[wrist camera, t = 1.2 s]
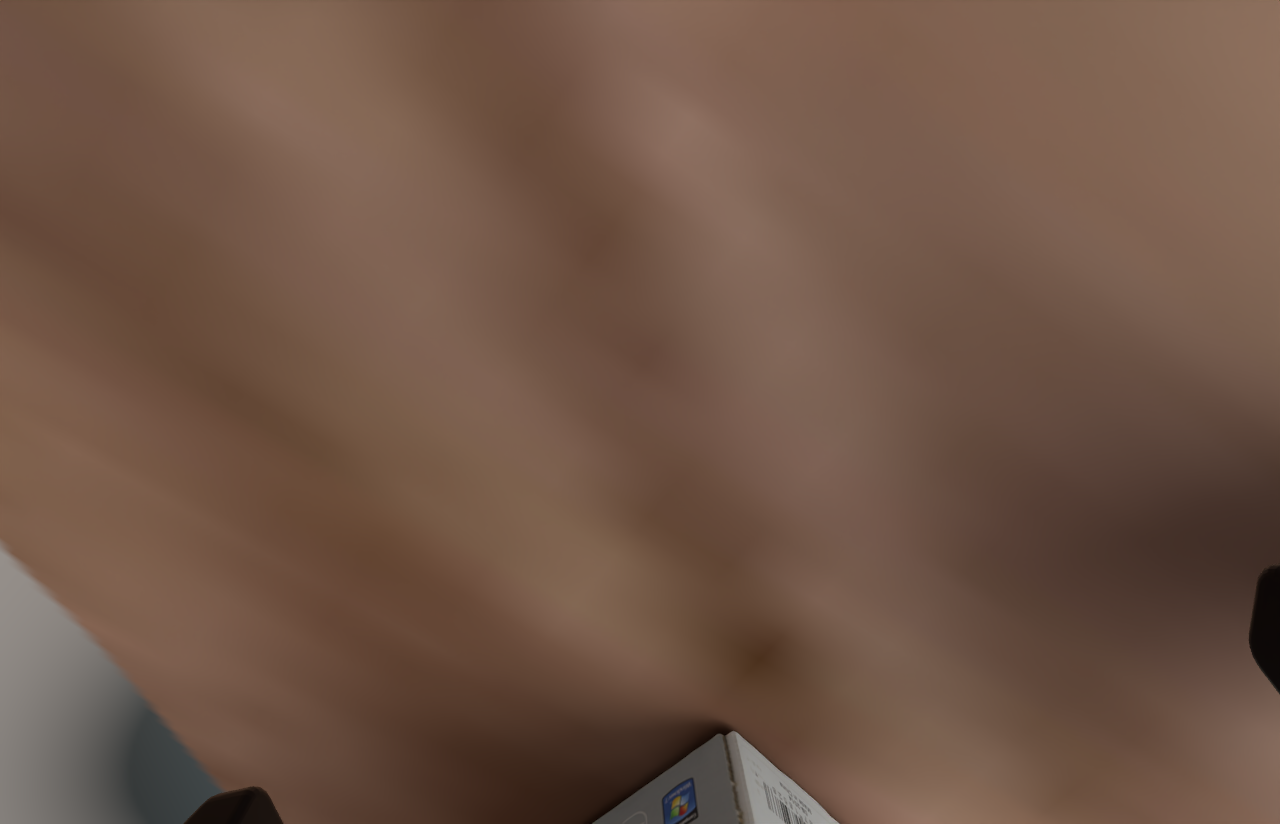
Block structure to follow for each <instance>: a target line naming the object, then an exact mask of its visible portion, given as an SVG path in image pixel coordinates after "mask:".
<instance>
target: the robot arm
mask: <svg viewBox="0 0 1280 824" xmlns="http://www.w3.org/2000/svg"><path fill="white" fill-rule="evenodd" d="M1249 645H1250V649H1251V652H1252V655H1253V657H1254V659H1255V661H1256V663H1257V665H1258V666H1259V668H1260V669H1261V671H1262V672H1263V673H1264V675H1265V676H1266V677H1267V678H1268V680H1269V681H1270V682H1271V684H1272V685H1273V686H1274V688H1275V689H1276V690H1277V691H1278V693H1279V694H1280V564H1275V565H1271V566H1269V567H1267V568H1265V569H1264V570H1263V571H1262V573H1261V574H1260V575H1259V577H1258V580H1257V586H1256V592H1255V598H1254V605H1253V611H1252V618H1251V624H1250V631H1249ZM184 824H283V822H282V820H281V818H280V816H279V814H278V812H277V810H276V808H275V806H274V804H273V802H272V800H271V798H270V797H269V795H268V794H267V792H266V791H264V790H263V789H262V788H260V787H248V788H243V789H238V790H234V791H229V792H225V793H220V794H217V795H215V796H213V797H211V798H209V799H208V800H207V801H206V802H205V803H203V804H202V805H201V806H200V807H199V808H198V809H197V810H196V811H195V812H194V813H193V814H192V815H191V816H190V817H189V818H188V820H187V821H186V822H185V823H184Z"/></svg>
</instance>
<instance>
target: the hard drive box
mask: <svg viewBox="0 0 1280 824" xmlns="http://www.w3.org/2000/svg"><path fill="white" fill-rule="evenodd" d="M592 824H839V823H838V822H837V821H836V820H834V819H833V818H832V817H831V816H830V815H829V814H828V813H827V812H826V811H825V810H824V809H823V808H822V806H821V805H820V804H819V803H818V802H817V801H815V800H814V799H813V798H812V797H811V796H809V795H808V794H807V793H806V792H805V791H804V790H803V789H802V788H801V787H799V786H798V785H797V784H796V783H795V782H794V781H793V780H792V779H790V778H789V777H788V776H786V775H785V774H784V773H782V772H781V771H780V770H778V769H777V768H776V767H775V766H774V765H773V764H772V763H771V762H770V761H768V760H767V759H766V758H765V757H764V756H763V755H762V754H761V753H760V752H758V751H757V750H756V749H755V748H754V747H753V746H752V745H751V744H750V743H748V742H747V741H746V740H745V739H744V738H743V737H741V736H740V735H739V734H738V733H737V732H735V731H731V732H730V733H729V734H727V735H725V736H724V735H722V734H717V735H716V736H714V737H713V738H712V739H710V740H709V741H708V742H706V743H705V744H703V745H702V746H700V747H699V748H697V749H696V750H694V751H693V752H691V753H690V754H689V755H688V756H686V757H685V758H684V759H682V760H681V761H680V762H678V763H677V764H675V765H674V766H673V767H671V768H670V769H668V770H667V771H665V772H664V773H662V774H661V775H660V776H658V777H657V778H655V779H654V780H653V781H651V782H650V783H648V784H647V785H646V786H644V787H643V788H641V789H640V790H638V791H637V792H636V793H634V794H633V795H631V796H630V797H629V798H627V799H626V800H624V801H623V802H622V803H620V804H619V805H618V806H616V807H615V808H613V809H612V810H611V811H609V812H608V813H606V814H605V815H603V816H602V817H601V818H599V819H598V820H596V821H595V822H593V823H592Z"/></svg>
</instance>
